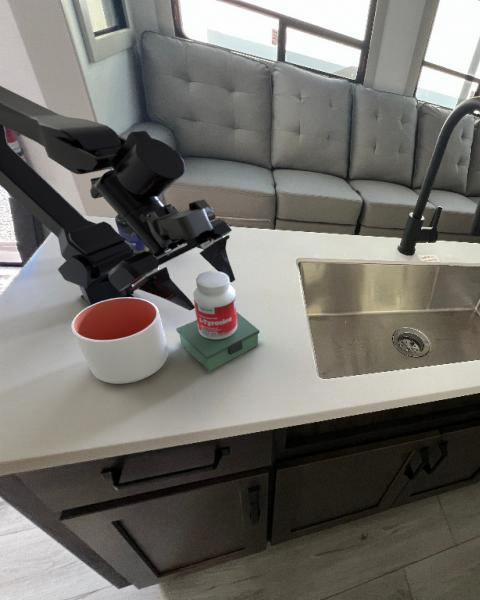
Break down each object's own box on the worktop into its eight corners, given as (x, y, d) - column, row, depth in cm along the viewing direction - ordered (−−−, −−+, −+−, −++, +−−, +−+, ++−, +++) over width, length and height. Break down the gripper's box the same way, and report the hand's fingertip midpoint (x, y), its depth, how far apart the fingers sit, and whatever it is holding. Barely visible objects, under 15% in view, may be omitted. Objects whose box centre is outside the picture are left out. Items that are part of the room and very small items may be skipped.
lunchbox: (210, 374, 56) (207, 358, 54) (178, 343, 59) (174, 327, 57) (261, 346, 63) (260, 331, 61) (230, 320, 67) (229, 305, 64)
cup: (85, 393, 48) (60, 346, 43) (100, 345, 55) (81, 298, 50) (166, 381, 53) (154, 337, 47) (172, 338, 60) (162, 295, 54)
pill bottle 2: (196, 342, 56) (187, 290, 49) (200, 318, 60) (193, 267, 54) (237, 339, 58) (233, 290, 52) (238, 317, 62) (235, 268, 56)
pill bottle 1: (151, 257, 76) (140, 213, 70) (119, 255, 74) (105, 209, 68) (159, 244, 81) (150, 202, 74) (130, 242, 79) (118, 198, 72)
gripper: (101, 204, 38) (197, 310, 43) (218, 171, 53) (278, 253, 58) (67, 241, 43) (156, 332, 48) (182, 202, 58) (240, 275, 63)
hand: (214, 294), depth 54 cm, fingers open, 9 cm apart
